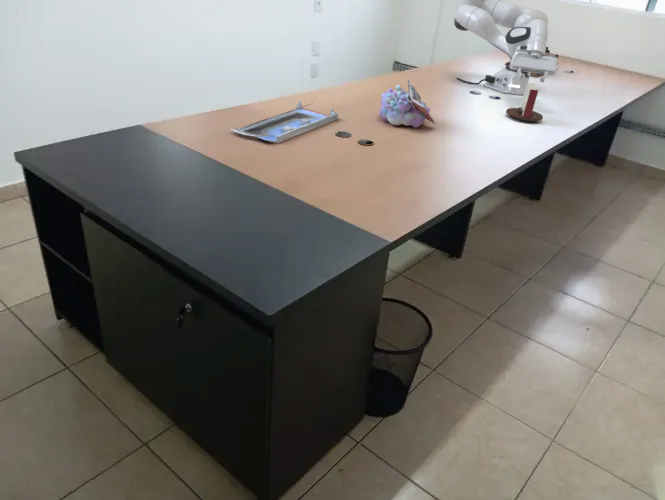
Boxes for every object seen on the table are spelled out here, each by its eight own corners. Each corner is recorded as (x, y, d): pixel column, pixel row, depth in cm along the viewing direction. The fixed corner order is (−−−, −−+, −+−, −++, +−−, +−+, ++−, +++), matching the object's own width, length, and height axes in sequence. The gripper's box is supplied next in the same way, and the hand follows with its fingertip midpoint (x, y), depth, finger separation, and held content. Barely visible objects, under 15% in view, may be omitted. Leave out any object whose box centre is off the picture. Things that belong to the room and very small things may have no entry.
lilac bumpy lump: (373, 99, 230) (382, 67, 214) (423, 100, 233) (435, 69, 217) (380, 138, 221) (389, 108, 205) (431, 139, 224) (445, 109, 208)
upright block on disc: (504, 107, 253) (512, 79, 247) (539, 112, 252) (548, 84, 245) (507, 117, 240) (515, 87, 233) (545, 123, 238) (554, 93, 232)
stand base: (504, 116, 246) (505, 113, 245) (517, 112, 254) (518, 110, 253) (529, 124, 239) (529, 121, 239) (541, 120, 247) (542, 117, 246)
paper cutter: (337, 119, 218) (339, 105, 215) (267, 147, 184) (268, 131, 181) (300, 108, 225) (301, 94, 222) (226, 133, 191) (226, 117, 189)
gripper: (556, 60, 251) (552, 87, 248) (510, 54, 254) (506, 80, 250) (560, 52, 245) (557, 79, 242) (514, 45, 248) (510, 72, 244)
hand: (531, 79), depth 246 cm, fingers open, 8 cm apart
